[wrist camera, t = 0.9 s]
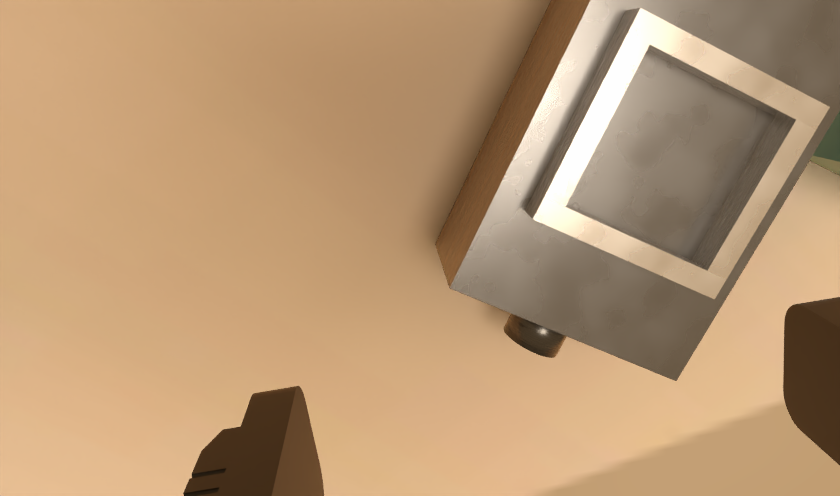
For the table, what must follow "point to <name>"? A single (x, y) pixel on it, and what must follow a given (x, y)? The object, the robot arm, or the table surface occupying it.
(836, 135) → the block
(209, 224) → the table surface
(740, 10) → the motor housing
